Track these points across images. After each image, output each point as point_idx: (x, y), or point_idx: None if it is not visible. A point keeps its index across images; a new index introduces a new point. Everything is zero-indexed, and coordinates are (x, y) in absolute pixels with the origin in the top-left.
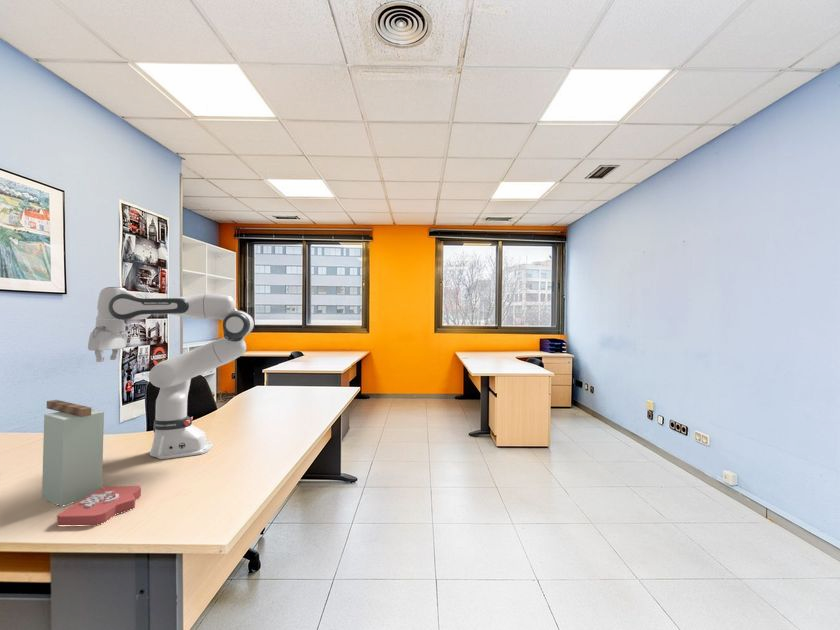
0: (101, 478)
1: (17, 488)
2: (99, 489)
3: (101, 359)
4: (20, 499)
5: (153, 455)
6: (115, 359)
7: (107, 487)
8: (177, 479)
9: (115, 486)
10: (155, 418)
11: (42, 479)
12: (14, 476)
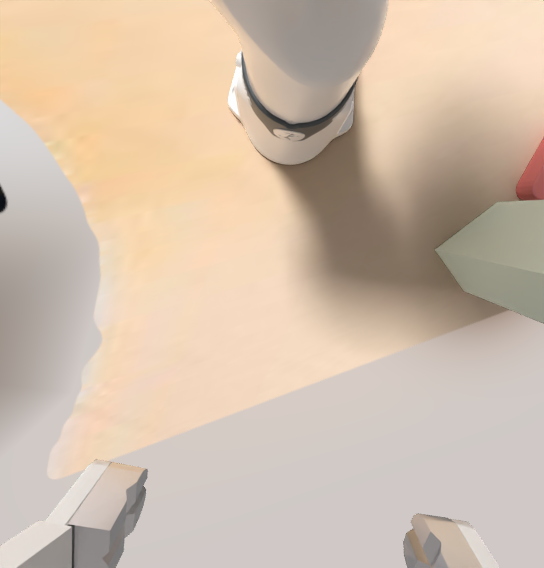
0: (524, 201)
1: (394, 342)
2: (540, 197)
3: (491, 555)
4: (449, 319)
5: (322, 148)
6: (124, 464)
7: (538, 184)
8: (513, 54)
9: (541, 170)
10: (314, 119)
11: (490, 301)
12: (329, 369)
